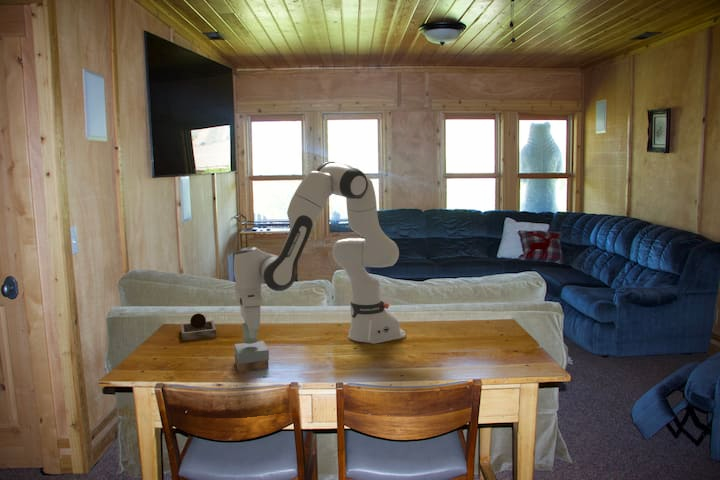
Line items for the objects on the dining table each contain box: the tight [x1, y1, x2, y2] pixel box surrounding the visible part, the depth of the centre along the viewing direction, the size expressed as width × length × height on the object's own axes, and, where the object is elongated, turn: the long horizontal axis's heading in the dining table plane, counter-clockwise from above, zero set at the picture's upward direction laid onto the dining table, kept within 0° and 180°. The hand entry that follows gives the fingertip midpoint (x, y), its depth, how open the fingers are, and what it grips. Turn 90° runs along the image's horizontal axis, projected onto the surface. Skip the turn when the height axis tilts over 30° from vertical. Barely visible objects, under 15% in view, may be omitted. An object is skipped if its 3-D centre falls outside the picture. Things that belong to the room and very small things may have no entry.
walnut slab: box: [234, 354, 270, 373], centre depth 198 cm, size 10×10×4 cm
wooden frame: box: [180, 320, 217, 341], centre depth 232 cm, size 13×13×3 cm
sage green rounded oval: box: [241, 322, 259, 344], centre depth 196 cm, size 5×5×6 cm
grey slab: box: [234, 340, 270, 364], centre depth 197 cm, size 10×10×4 cm
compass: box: [189, 312, 210, 331], centre depth 234 cm, size 8×8×7 cm
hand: (250, 334), depth 196 cm, fingers closed on sage green rounded oval, 5 cm apart
